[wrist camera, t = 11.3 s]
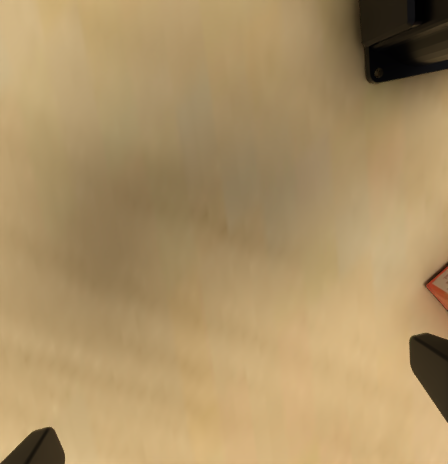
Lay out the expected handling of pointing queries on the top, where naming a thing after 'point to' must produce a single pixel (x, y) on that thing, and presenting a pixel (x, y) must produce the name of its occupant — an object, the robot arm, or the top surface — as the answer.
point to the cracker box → (440, 287)
